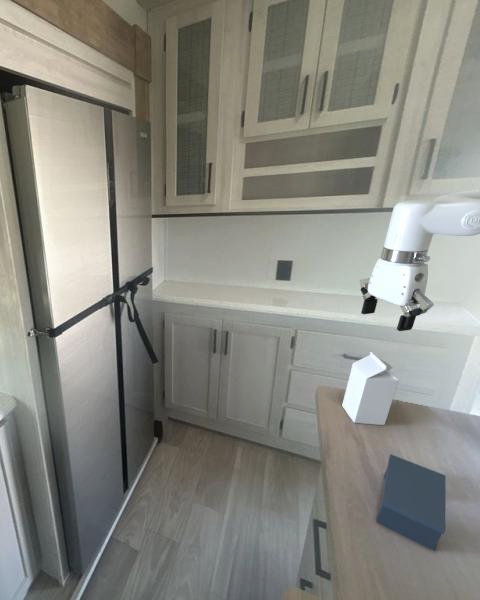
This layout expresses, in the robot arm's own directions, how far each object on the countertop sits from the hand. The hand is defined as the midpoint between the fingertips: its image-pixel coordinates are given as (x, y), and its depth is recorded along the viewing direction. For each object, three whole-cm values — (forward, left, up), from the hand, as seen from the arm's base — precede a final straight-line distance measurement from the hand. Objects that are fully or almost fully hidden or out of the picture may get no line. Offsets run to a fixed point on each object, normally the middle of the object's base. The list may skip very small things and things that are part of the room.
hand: (384, 321), depth 83 cm
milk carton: (0, +1, -30) cm, 30 cm away
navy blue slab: (+8, +28, -30) cm, 42 cm away
